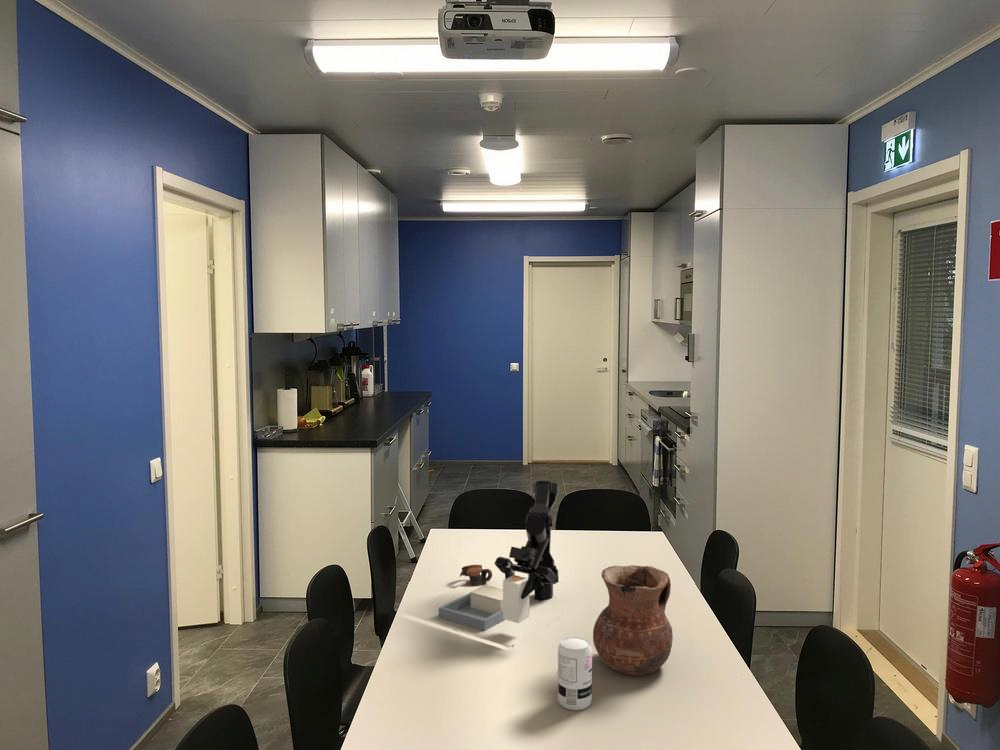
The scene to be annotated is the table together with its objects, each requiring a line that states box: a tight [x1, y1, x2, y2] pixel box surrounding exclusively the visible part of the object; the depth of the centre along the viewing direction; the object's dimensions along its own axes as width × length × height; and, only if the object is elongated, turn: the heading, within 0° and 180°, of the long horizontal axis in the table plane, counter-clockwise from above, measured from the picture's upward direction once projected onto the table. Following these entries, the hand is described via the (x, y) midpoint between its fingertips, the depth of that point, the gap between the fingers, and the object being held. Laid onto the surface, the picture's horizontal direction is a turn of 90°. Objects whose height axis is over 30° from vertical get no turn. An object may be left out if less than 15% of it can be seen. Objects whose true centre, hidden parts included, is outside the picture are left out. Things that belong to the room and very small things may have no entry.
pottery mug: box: [459, 564, 493, 588], centre depth 263 cm, size 12×10×8 cm
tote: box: [438, 592, 507, 632], centre depth 235 cm, size 22×18×4 cm
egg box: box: [469, 584, 503, 614], centre depth 239 cm, size 8×12×5 cm
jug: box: [592, 565, 674, 677], centre depth 201 cm, size 22×21×25 cm
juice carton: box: [502, 574, 530, 624], centre depth 217 cm, size 6×6×12 cm
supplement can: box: [557, 636, 593, 711], centre depth 180 cm, size 8×8×15 cm
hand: (513, 596), depth 216 cm, fingers closed on juice carton, 5 cm apart
